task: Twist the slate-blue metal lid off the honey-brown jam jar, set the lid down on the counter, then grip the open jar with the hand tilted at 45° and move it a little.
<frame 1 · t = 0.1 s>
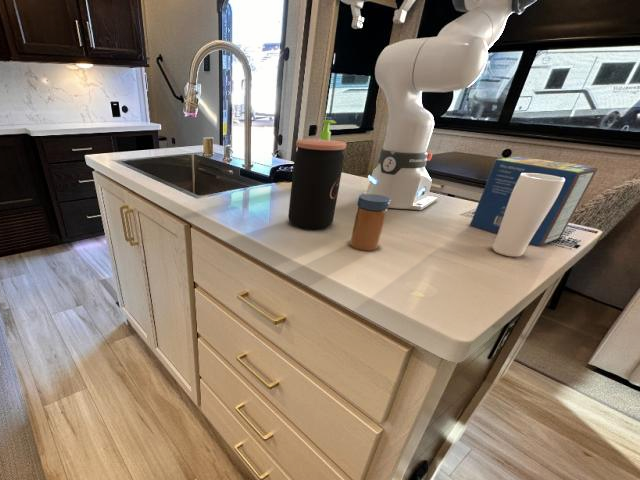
hand: (376, 25, 68), 39 cm above the countertop, tool pointing down, fingers open, 8 cm apart
soap dispenser: (318, 185, 118), on the countertop
protein box: (512, 232, 81), on the countertop
jam jar: (363, 245, 70), on the countertop
jam lid: (374, 199, 66), point 9 cm above the countertop, screwed on, not yet turned
coffee jar: (309, 224, 82), on the countertop
drinking glass: (505, 253, 69), on the countertop
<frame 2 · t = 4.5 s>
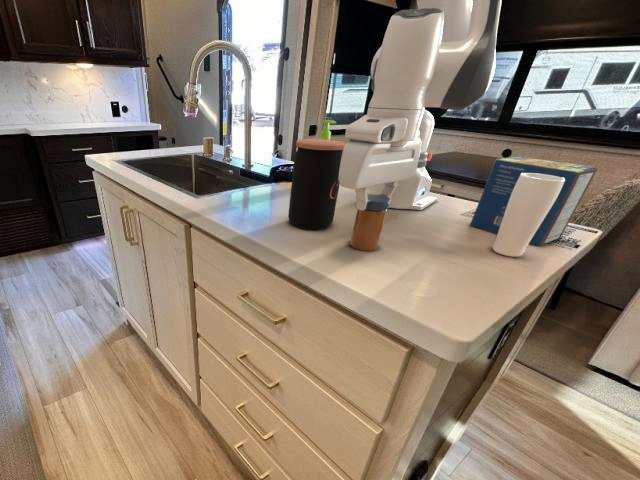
hand: (372, 206, 66), 8 cm above the countertop, tool pointing down, fingers closed on jam lid, 5 cm apart
jam lid: (374, 199, 66), point 9 cm above the countertop, screwed on, not yet turned, touching gripper
everything else where it was.
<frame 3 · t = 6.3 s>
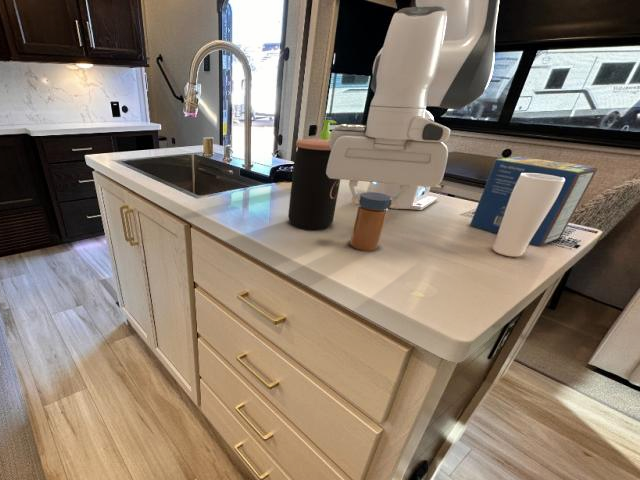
hand: (373, 205, 66), 8 cm above the countertop, tool pointing down, fingers closed on jam lid, 5 cm apart
jam lid: (375, 198, 65), point 10 cm above the countertop, off its thread, touching gripper
everything else where it was.
when the fingers open (0 cm above the countertop, at t = 14.5 s): jam lid stays where it is, point 1 cm above the countertop.
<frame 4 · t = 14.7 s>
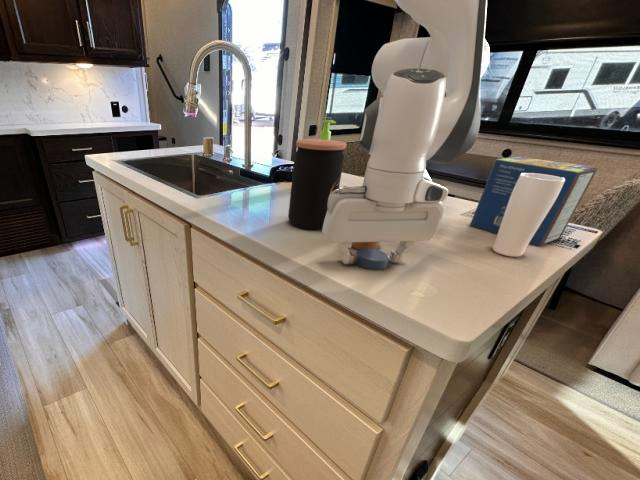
hand: (371, 262, 63), 0 cm above the countertop, tool pointing down, fingers open, 8 cm apart
jam lid: (372, 256, 63), point 1 cm above the countertop, off its thread
everything else where it was.
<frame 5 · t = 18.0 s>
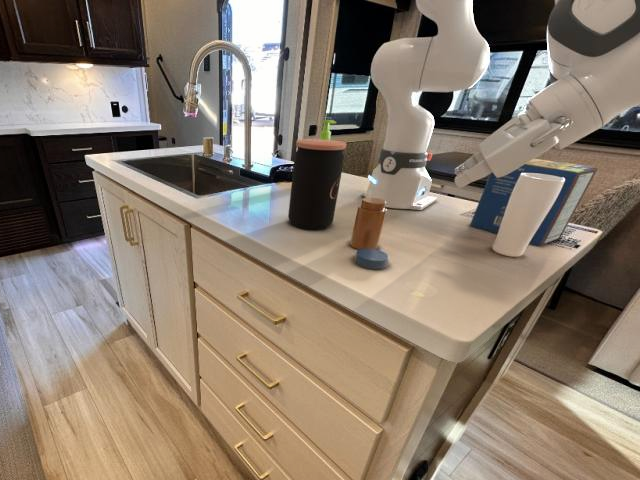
hand: (456, 178, 58), 15 cm above the countertop, tool tilted 45°, fingers open, 8 cm apart
nothing on the countertop moved.
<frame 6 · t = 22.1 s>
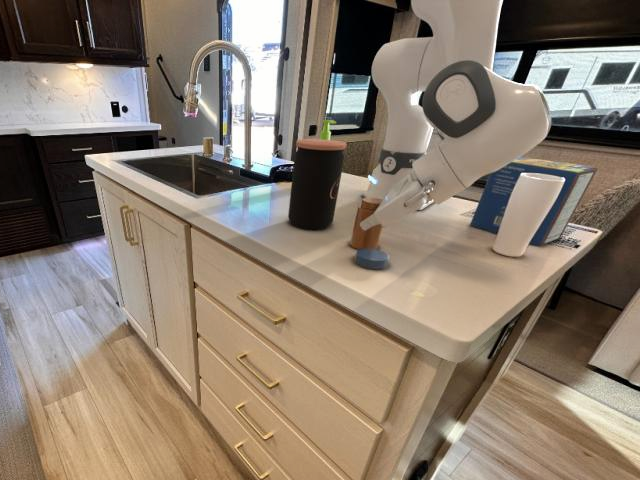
hand: (365, 221, 68), 5 cm above the countertop, tool tilted 45°, fingers closed on jam jar, 5 cm apart
jam jar: (363, 245, 70), on the countertop, touching gripper
everything else where it was.
when the fingers open (5 cm above the countertop, at t = 28.8 s): jam jar stays where it is, on the countertop.
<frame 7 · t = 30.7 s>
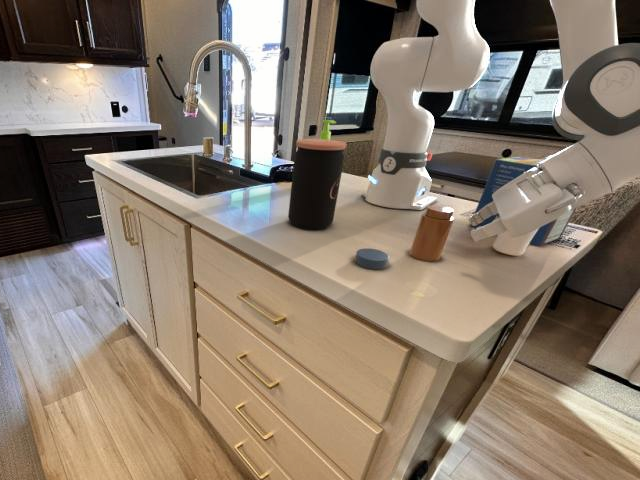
hand: (471, 229, 61), 7 cm above the countertop, tool tilted 45°, fingers open, 8 cm apart
jam jar: (424, 255, 67), on the countertop
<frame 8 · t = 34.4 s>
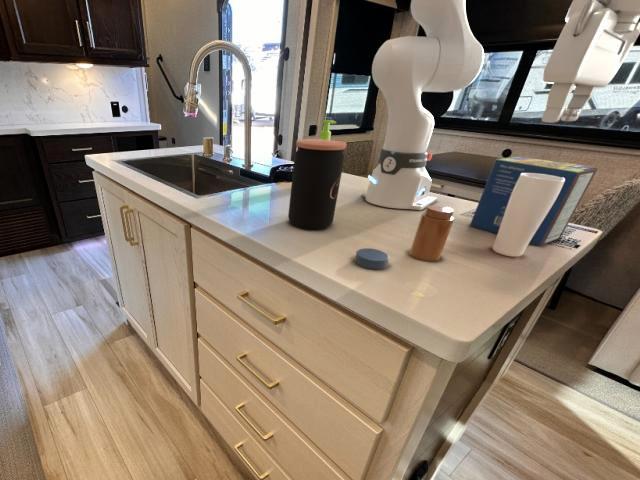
hand: (558, 121, 51), 24 cm above the countertop, tool pointing down, fingers open, 8 cm apart
at the end: jam lid point 1.3 cm above the countertop; the gripper is holding nothing; jam jar 0.1 cm from the target spot, on the countertop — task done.
